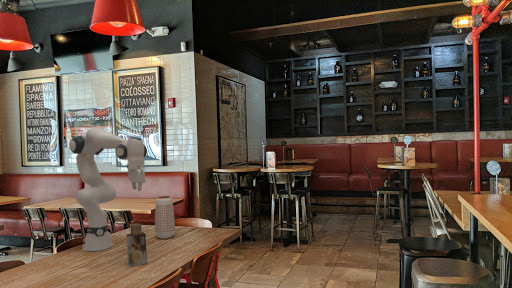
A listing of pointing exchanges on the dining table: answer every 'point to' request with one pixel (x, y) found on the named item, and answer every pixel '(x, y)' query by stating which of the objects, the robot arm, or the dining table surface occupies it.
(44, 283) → the dining table surface
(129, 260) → the coffee box
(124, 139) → the robot arm
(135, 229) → the walnut block
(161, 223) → the grey textured vase
